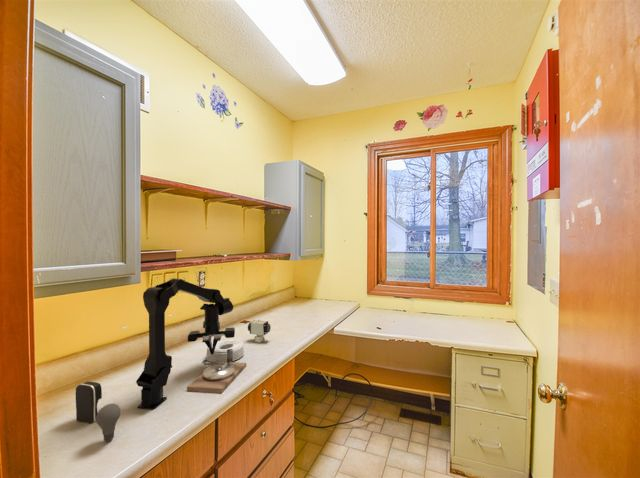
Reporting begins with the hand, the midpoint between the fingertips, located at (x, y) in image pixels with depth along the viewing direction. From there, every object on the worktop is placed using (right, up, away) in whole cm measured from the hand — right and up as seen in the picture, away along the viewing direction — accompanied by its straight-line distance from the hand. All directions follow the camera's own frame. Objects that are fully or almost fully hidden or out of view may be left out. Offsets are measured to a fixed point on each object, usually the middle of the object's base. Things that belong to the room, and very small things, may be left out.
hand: (212, 354), depth 123 cm
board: (+5, -7, -7) cm, 11 cm away
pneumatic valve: (+13, -7, +33) cm, 37 cm away
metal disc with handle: (+6, -5, -5) cm, 9 cm away
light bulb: (-13, -8, -42) cm, 45 cm away
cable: (+1, -7, +14) cm, 16 cm away
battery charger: (-27, -8, -32) cm, 43 cm away
